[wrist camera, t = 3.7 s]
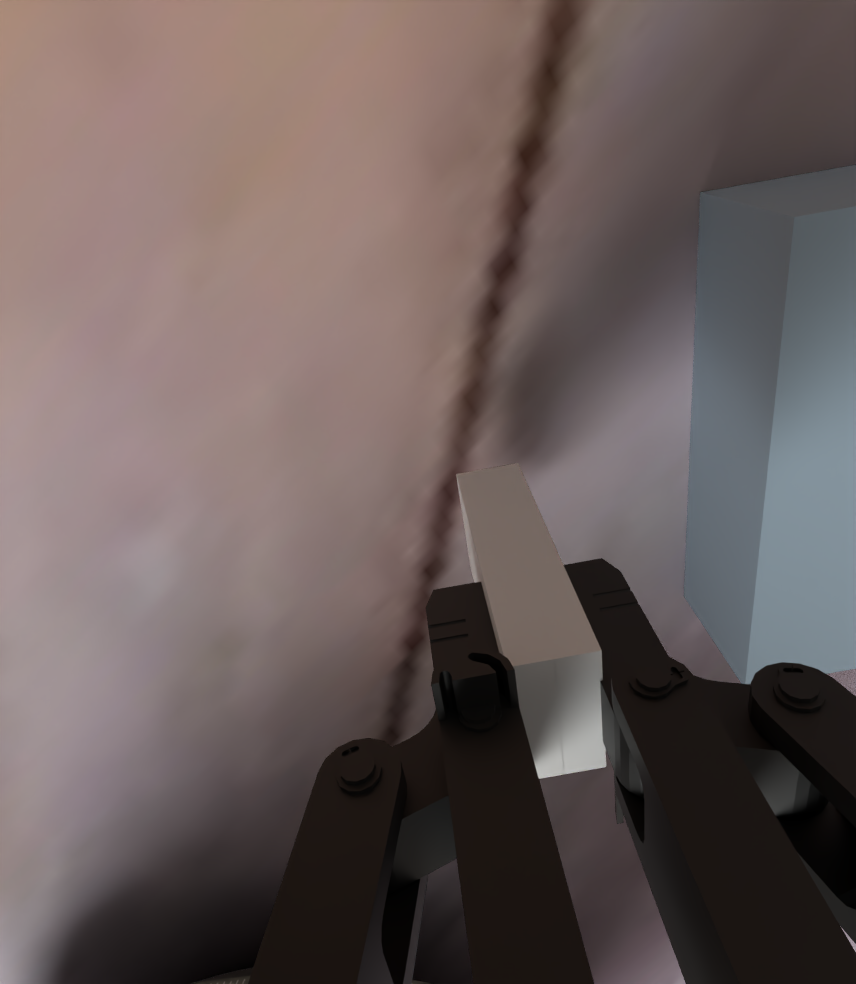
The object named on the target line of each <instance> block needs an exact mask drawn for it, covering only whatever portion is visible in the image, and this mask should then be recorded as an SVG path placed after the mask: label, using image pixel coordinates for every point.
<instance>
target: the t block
mask: <svg viewBox="0 0 856 984" xmlns="http://www.w3.org/2000/svg"><path fill="white" fill-rule="evenodd" d="M684 597H685V599H686V600H687V602H688V603H689V605H690V606H691V608H692V609H693V611H694V612H695V614H696V615H697V617H698V618H699V620H700V621H701V623H702V625H703V626H704V628H705V629H706V631H707V632H708V634H709V635H710V637H711V638H712V640H713V641H714V643H715V644H716V646H717V647H718V649H719V650H720V652H721V653H722V655H723V656H724V658H725V659H726V661H727V662H728V664H729V665H730V667H731V668H732V670H733V671H734V673H735V675H736V676H737V678H738V679H739V681H740V682H741V684H750V683H751V681H752V679H753V677H754V675H755V673H756V672H757V671H759V670H760V669H762V668H763V667H765V666H766V665H771V664H776V663H781V662H786V663H800V664H803V665H806V666H810V667H813V668H816V669H819V670H820V671H822V672H823V673H825V674H828V673H834V672H840V671H845V670H851V669H856V165H851V166H845V167H839V168H834V169H828V170H823V171H817V172H811V173H806V174H800V175H795V176H789V177H783V178H778V179H772V180H767V181H761V182H755V183H750V184H744V185H739V186H733V187H727V188H722V189H716V190H711V191H705V192H700V209H699V234H698V258H697V283H696V308H695V332H694V357H693V382H692V406H691V431H690V456H689V481H688V505H687V530H686V555H685V579H684Z"/></svg>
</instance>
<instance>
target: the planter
mask: <svg viewBox="0 0 856 984" xmlns="http://www.w3.org/2000/svg"><path fill="white" fill-rule="evenodd" d="M252 970H253V968H248V969H242V970H238V971H233V972H229V973H225V974H221V975H217V976H213V977H210V978H207V979H204V980H201V981H198V982H195V983H192V984H248V982H249V979H250V976H251V973H252ZM412 984H431V983H426V982H421V981H415V980H412Z"/></svg>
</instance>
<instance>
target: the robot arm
mask: <svg viewBox="0 0 856 984" xmlns="http://www.w3.org/2000/svg"><path fill="white" fill-rule="evenodd" d="M456 477H457V483H458V490H459V496H460V503H461V509H462V516H463V523H464V529H465V536H466V542H467V549H468V555H469V562H470V568H471V572H472V576H473V580H474V583H470V584H464V585H459V586H453V587H447V588H442V589H436V590H433V592H432V595H431V597H430V599H429V601H428V604H427V606H426V613H427V621H428V628H429V636H430V643H431V651H432V659H433V667H434V671H433V674H432V682H431V686H432V691H433V696H434V701H435V705H436V711H435V714H434V716H433V718H432V719H431V721H430V722H429V724H428V725H427V726H426V727H425V728H424V729H423V730H421V731H420V732H419V733H418V734H416V735H414V736H413V737H411V738H410V739H408V740H406V741H404V742H402V743H399V744H397V745H395V746H393V747H391V746H390V745H388V744H387V743H386V742H384V741H381V740H376V739H371V738H366V739H359V740H353V741H351V742H349V743H346V744H344V745H342V746H340V747H338V748H337V749H336V750H335V751H334V752H332V753H331V754H330V755H329V756H328V757H327V758H326V759H325V761H324V763H323V764H322V766H321V768H320V770H319V772H318V774H317V777H316V780H315V783H314V786H313V789H312V792H311V795H310V798H309V801H308V804H307V807H306V810H305V814H304V817H303V820H302V823H301V826H300V829H299V832H298V835H297V838H296V841H295V844H294V847H293V850H292V853H291V856H290V859H289V862H288V865H287V868H286V871H285V874H284V877H283V880H282V883H281V886H280V889H279V892H278V895H277V898H276V901H275V904H274V907H273V910H272V913H271V916H270V919H269V922H268V925H267V928H266V931H265V934H264V937H263V940H262V943H261V946H260V949H259V952H258V955H257V958H256V961H255V964H254V967H253V970H252V973H251V976H250V979H249V982H248V984H412V979H413V972H414V966H415V959H416V952H417V946H418V939H419V933H420V926H421V919H422V913H423V906H424V900H425V893H426V886H427V880H428V874H429V873H431V872H433V871H434V870H436V869H438V868H440V867H442V866H443V865H445V864H447V863H449V862H451V861H453V860H454V859H456V858H457V863H458V870H459V878H460V886H461V893H462V901H463V908H464V916H465V924H466V931H467V939H468V946H469V954H470V961H471V969H472V977H473V984H594V982H593V978H592V974H591V970H590V967H589V963H588V959H587V956H586V952H585V948H584V945H583V941H582V937H581V933H580V930H579V926H578V922H577V919H576V915H575V911H574V908H573V904H572V900H571V896H570V893H569V889H568V885H567V882H566V878H565V874H564V871H563V867H562V863H561V859H560V856H559V852H558V848H557V845H556V841H555V837H554V833H553V830H552V826H551V822H550V819H549V815H548V811H547V808H546V804H545V800H544V796H543V793H542V789H541V785H540V782H539V779H542V778H547V777H553V776H558V775H564V774H570V773H575V772H581V771H587V770H592V769H598V768H603V767H606V751H607V753H608V756H609V759H610V761H611V764H612V766H613V769H614V783H615V812H616V819H617V824H619V823H624V822H623V815H624V818H625V820H626V823H627V826H628V828H629V831H630V834H631V836H632V839H633V842H634V845H635V847H636V850H637V853H638V855H639V858H640V861H641V864H642V866H643V869H644V872H645V874H646V877H647V880H648V882H649V885H650V888H651V891H652V893H653V896H654V899H655V901H656V904H657V907H658V909H659V912H660V915H661V918H662V920H663V923H664V926H665V928H666V931H667V934H668V936H669V939H670V942H671V945H672V947H673V950H674V953H675V955H676V958H677V961H678V964H679V966H680V969H681V972H682V974H683V977H684V980H685V982H686V984H856V952H855V951H854V949H853V947H852V945H851V944H850V942H849V940H848V939H847V937H846V935H845V933H844V932H843V930H842V928H843V929H844V931H845V932H846V933H847V934H848V935H849V936H850V938H851V939H852V940H853V941H854V942H855V943H856V696H854V695H853V694H852V693H851V692H850V691H848V690H847V689H846V688H845V687H843V686H842V685H841V684H840V683H838V682H837V681H836V680H835V679H833V678H832V677H830V676H828V675H827V674H825V673H823V672H822V671H820V670H819V669H816V668H813V667H810V666H806V665H803V664H800V663H786V662H781V663H776V664H771V665H766V666H765V667H763V668H762V669H760V670H759V671H757V672H756V673H755V675H754V677H753V679H752V681H751V683H750V684H740V683H727V682H717V681H711V680H705V679H702V678H699V677H696V676H694V675H693V674H692V673H691V672H690V671H689V670H688V669H687V668H686V667H685V666H684V665H683V664H681V663H679V662H678V661H676V660H674V659H672V658H670V657H669V656H668V655H667V653H666V651H665V650H664V648H663V646H662V644H661V642H660V641H659V639H658V637H657V635H656V634H655V632H654V630H653V628H652V626H651V625H650V623H649V621H648V619H647V618H646V616H645V614H644V612H643V611H642V609H641V607H640V605H638V602H637V600H636V598H635V596H634V595H633V593H632V591H630V587H629V586H628V584H627V582H626V580H625V579H624V577H623V575H622V573H621V572H620V571H619V570H618V569H616V568H615V567H614V566H612V565H611V564H609V563H608V562H607V561H605V560H604V559H602V558H601V559H596V560H590V561H584V562H579V563H573V564H568V565H563V563H562V561H561V559H560V556H559V554H558V552H557V550H556V547H555V545H554V543H553V541H552V538H551V536H550V534H549V532H548V529H547V527H546V525H545V523H544V520H543V518H542V516H541V514H540V511H539V509H538V507H537V505H536V503H535V500H534V498H533V496H532V494H531V491H530V489H529V487H528V485H527V482H526V480H525V478H524V476H523V473H522V471H521V469H520V467H519V464H518V463H515V464H510V465H504V466H499V467H493V468H487V469H482V470H476V471H471V472H465V473H459V474H456ZM840 926H841V927H842V928H841V927H840Z"/></svg>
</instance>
